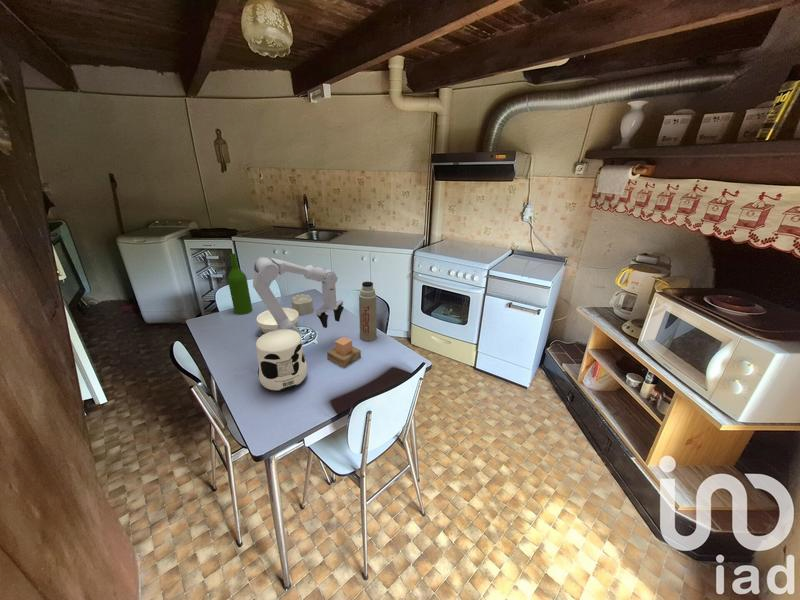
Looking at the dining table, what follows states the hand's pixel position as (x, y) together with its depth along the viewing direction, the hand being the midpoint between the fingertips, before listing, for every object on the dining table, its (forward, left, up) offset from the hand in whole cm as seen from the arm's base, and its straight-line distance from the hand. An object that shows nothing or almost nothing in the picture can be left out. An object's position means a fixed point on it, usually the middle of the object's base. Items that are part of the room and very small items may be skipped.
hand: (331, 324), depth 140 cm
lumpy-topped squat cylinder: (+15, +39, -10) cm, 43 cm away
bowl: (-8, +28, -10) cm, 31 cm away
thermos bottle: (+14, -10, -10) cm, 20 cm away
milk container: (-30, -5, -10) cm, 32 cm away
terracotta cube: (-6, -13, -6) cm, 16 cm away
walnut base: (-6, -13, -10) cm, 18 cm away
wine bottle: (-6, +63, -10) cm, 64 cm away
